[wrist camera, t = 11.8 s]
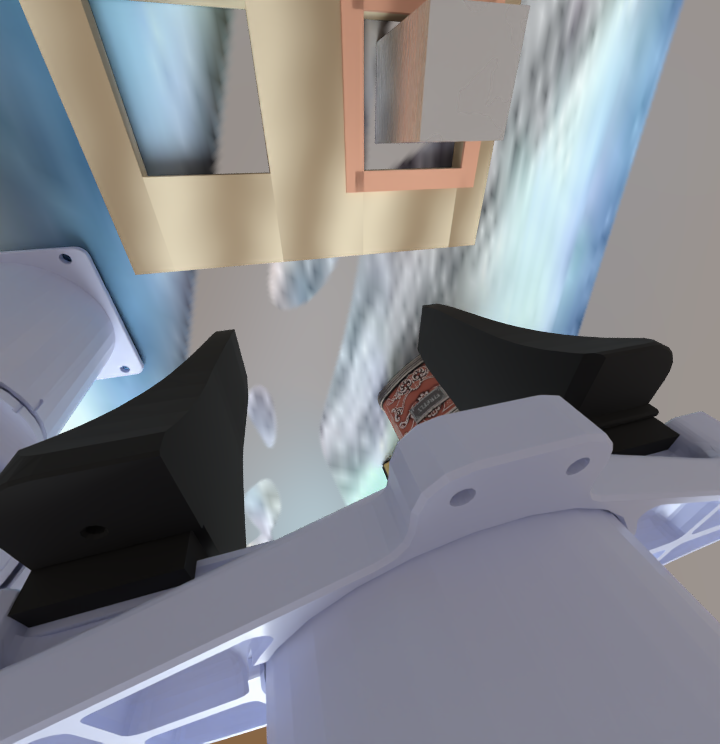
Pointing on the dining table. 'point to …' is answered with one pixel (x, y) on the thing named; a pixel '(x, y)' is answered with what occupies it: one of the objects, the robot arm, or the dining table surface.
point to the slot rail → (283, 145)
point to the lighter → (414, 398)
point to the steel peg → (448, 72)
